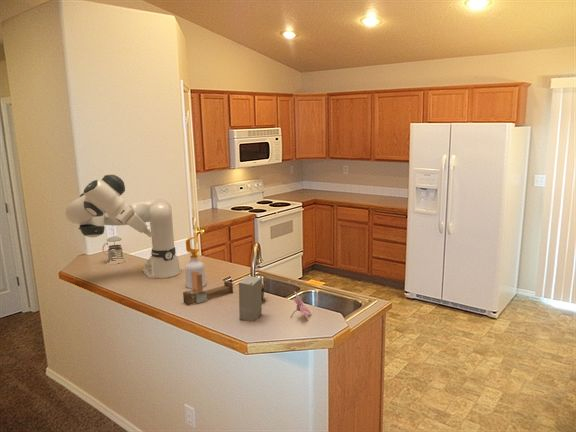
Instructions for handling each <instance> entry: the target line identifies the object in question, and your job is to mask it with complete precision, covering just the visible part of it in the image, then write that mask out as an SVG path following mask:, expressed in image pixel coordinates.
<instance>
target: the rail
mask: <svg viewBox="0 0 576 432" xmlns="http://www.w3.org/2000/svg"><path fill="white" fill-rule="evenodd" d="M223 284H224V285H221V286H216V287H213V288H209V289H207V290H205V291H206V294H207V301H209V300H212V299H216V298H219V297H223V296H227V295H230V294H233V293H234V287H233V285H234V284H233V281H230V280H224V281H223ZM182 297H183V300H182V301H183V304H185V305H187V306H190V305H196V304H197V303H196V301H195V296H194V295H192V294H191V293H190V292H189V290H186V291H182Z"/></svg>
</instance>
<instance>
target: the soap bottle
mask: <svg viewBox="0 0 576 432" xmlns="http://www.w3.org/2000/svg"><path fill="white" fill-rule="evenodd" d="M197 237H198V235H195V236H194V235H193V236H191V237H189V238H187V239H186V240H185V249H186V251H187V253H190V254H191V255H190V261H189V262H187V263H186V264H185V266H184V267H185V268H184V269H185V285H186V286H185V287H187V288H188V289H192V276H191V273H193V272H198V273H200V274H202V287H203V288H204V287H205V285H206V273H205V271H206V270H205V264H204V263H203V262H202V261H200V260H199V259H198V258H199V257H198V255H197V252H199V251H200V249H199V248H198V249H197V248H191V240H193V239H196V238H197Z"/></svg>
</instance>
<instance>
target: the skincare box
mask: <svg viewBox="0 0 576 432" xmlns="http://www.w3.org/2000/svg"><path fill="white" fill-rule="evenodd" d="M261 283H262V277H258V276H250V275H247V276H246V277H244V278H243V279H241V280H240V281H239V282H238V299H239V300H238V303H239V304H238V308H239V312H238V313H239V320H241V319H242V320H241V321H247V320H249V321H248V322H255V321H256V320H257V319H258V318H259V316H261V315H262V309H263V307H262V302H263V301H262V302H261Z"/></svg>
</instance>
